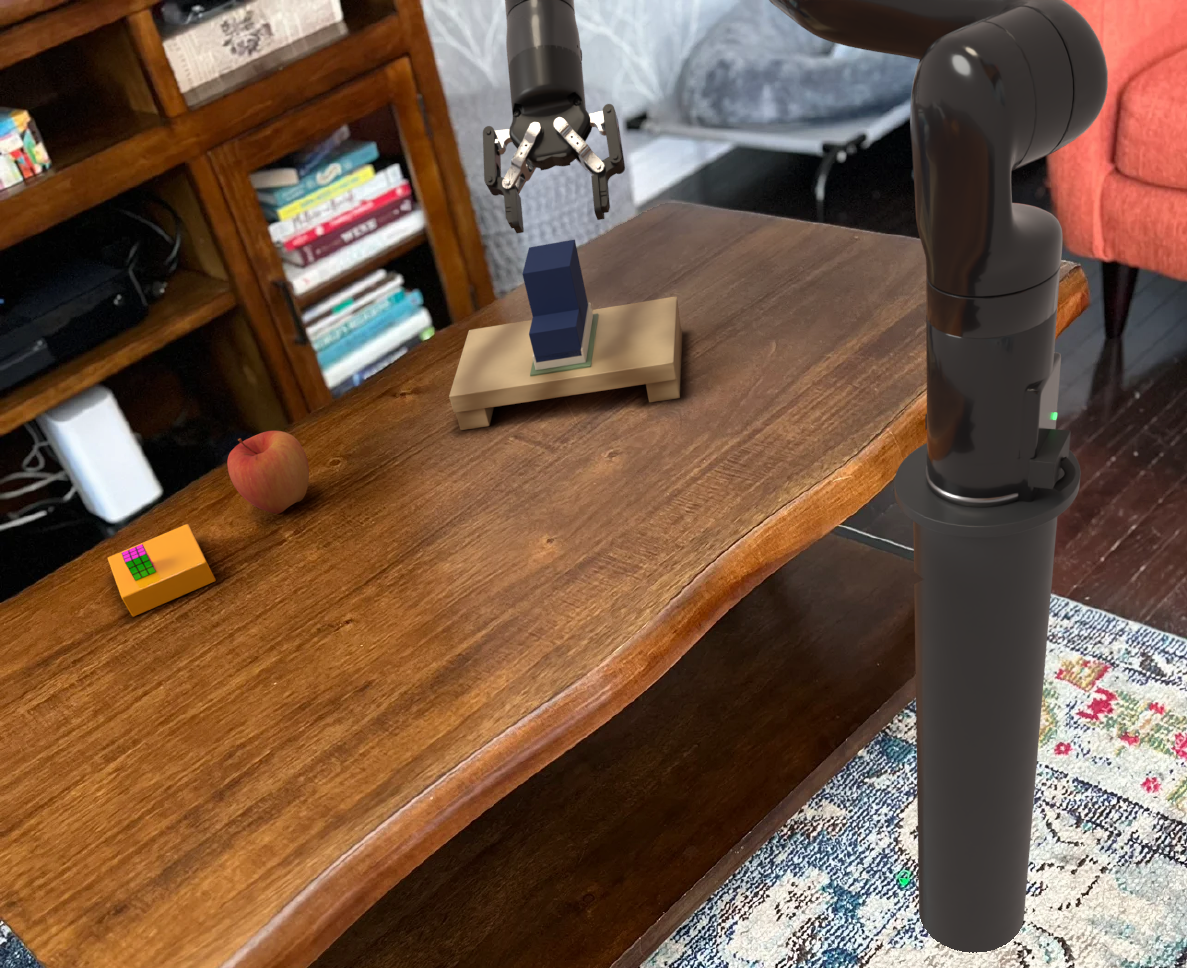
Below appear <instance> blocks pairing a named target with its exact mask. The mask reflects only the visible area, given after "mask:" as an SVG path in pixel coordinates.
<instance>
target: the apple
mask: <svg viewBox="0 0 1187 968" xmlns="http://www.w3.org/2000/svg"><path fill="white" fill-rule="evenodd" d="M237 441H238V442H239V443H238V444H237V445H235V446H234V448H233V449H232V450H231V451H230V452H229V454H228V457H227V461H226V462H227V472H228V475H229V478H230V480H231V483H232V485H233V486H234V488H235V490H236V491H237V492H238V493H239V494H240V496H241V497H242V498H243V499H244V500H246V501H247V502H248V503H250V505H252V506H253V507H255V508H257V509H260V510H261V511H264V512H268V513H271V514H276V515H280V514H281V513H283V512H285V511H286V509H288V508H289V507H291V506H292V505H294V504H295V503H299V502H301V501H302V500H303V499H304V498H305V496H306V493H307V490H308V486H309V479H310V466H309V460H308V456H307V454H306V451H305V449H304V448H303V445H302V444H301V442H299V440H298V439H297V438H296V437H295V436H293V435H292V434H291V433H288V432H285V431H281V430H268V431H264V432H263V431H262V432H260V433H258V434H256V435H253V436H251V437H249V438H246V439H245V440H242V438H237Z"/></svg>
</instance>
